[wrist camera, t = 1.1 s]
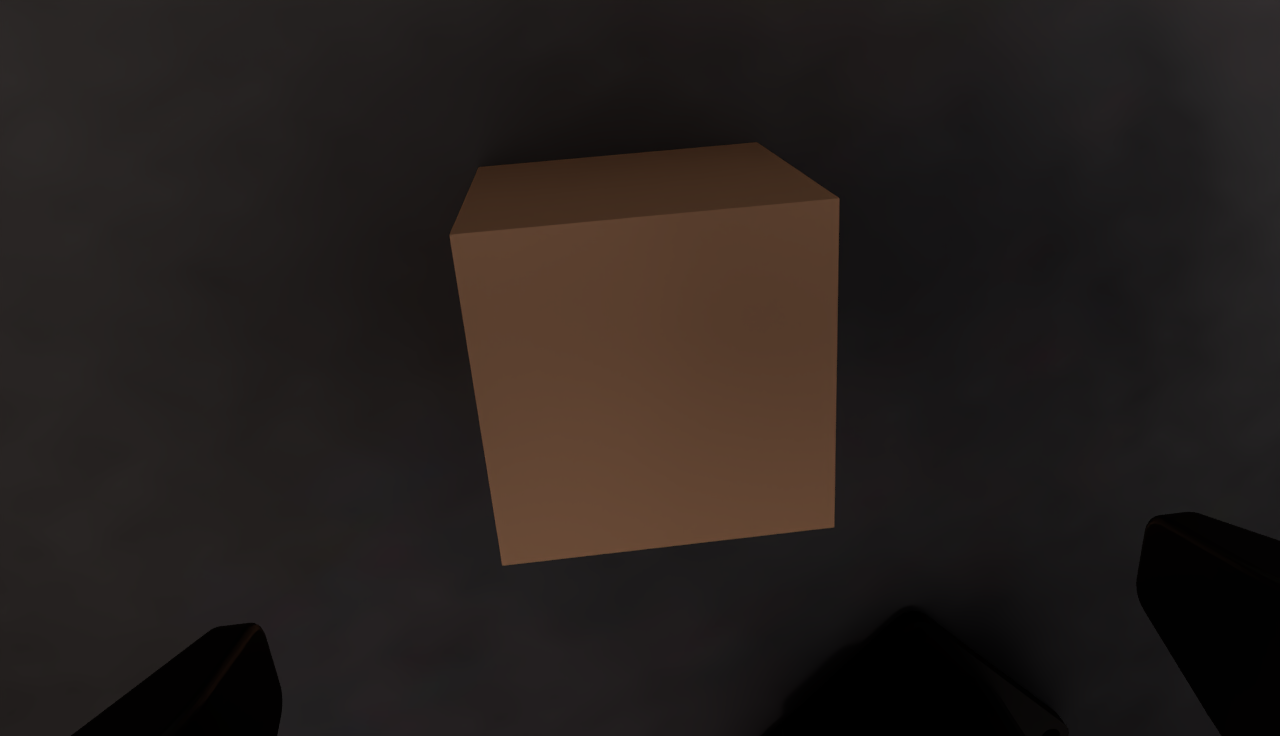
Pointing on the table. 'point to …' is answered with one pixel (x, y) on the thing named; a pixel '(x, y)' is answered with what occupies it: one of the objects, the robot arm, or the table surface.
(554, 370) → the cube
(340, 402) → the table surface
